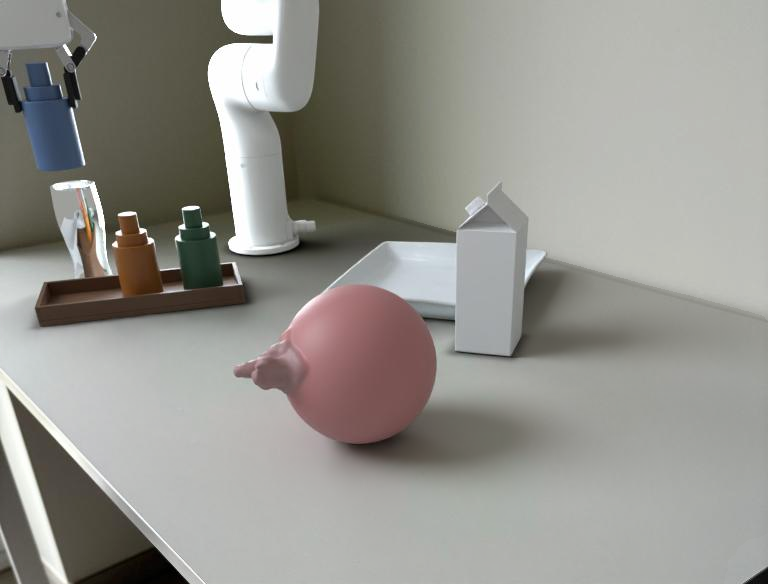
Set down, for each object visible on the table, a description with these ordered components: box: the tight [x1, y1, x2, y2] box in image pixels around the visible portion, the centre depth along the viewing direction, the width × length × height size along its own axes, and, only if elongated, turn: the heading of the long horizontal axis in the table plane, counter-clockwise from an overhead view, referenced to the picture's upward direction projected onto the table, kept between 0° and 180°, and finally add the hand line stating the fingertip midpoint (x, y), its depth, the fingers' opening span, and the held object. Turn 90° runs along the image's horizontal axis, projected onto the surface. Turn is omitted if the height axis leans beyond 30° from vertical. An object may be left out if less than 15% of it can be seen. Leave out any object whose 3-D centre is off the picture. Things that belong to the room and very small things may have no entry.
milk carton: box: [454, 180, 529, 357], centre depth 97 cm, size 7×7×19 cm
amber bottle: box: [111, 211, 164, 297], centre depth 117 cm, size 6×6×12 cm
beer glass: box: [49, 179, 114, 279], centre depth 126 cm, size 7×7×15 cm
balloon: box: [232, 284, 438, 445], centre depth 78 cm, size 15×20×15 cm
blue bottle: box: [20, 61, 86, 172], centre depth 102 cm, size 6×6×12 cm
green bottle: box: [174, 205, 224, 290], centre depth 119 cm, size 6×6×12 cm
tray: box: [34, 261, 246, 327], centre depth 120 cm, size 29×12×3 cm, turn 104°
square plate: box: [320, 240, 548, 321], centre depth 118 cm, size 27×27×4 cm
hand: (47, 107), depth 101 cm, fingers closed on blue bottle, 6 cm apart
